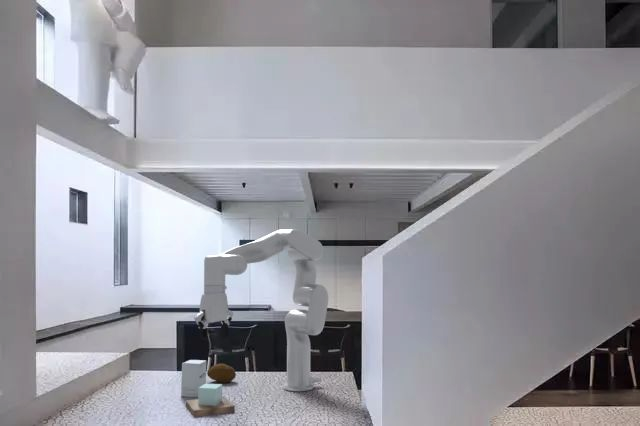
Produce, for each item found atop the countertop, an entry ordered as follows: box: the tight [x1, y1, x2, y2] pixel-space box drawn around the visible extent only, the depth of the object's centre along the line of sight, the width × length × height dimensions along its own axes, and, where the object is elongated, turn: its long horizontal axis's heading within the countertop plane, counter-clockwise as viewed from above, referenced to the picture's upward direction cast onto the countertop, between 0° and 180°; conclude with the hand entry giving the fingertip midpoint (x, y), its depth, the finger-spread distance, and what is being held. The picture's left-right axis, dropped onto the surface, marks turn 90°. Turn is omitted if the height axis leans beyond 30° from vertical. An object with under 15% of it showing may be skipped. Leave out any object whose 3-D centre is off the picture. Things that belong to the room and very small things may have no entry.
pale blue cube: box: [197, 383, 223, 406], centre depth 194 cm, size 6×6×6 cm
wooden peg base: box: [185, 395, 236, 418], centre depth 194 cm, size 14×14×6 cm
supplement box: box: [180, 359, 207, 398], centre depth 213 cm, size 7×7×13 cm
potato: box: [206, 363, 237, 384], centre depth 234 cm, size 8×12×8 cm, turn 91°
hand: (214, 338), depth 196 cm, fingers open, 9 cm apart
